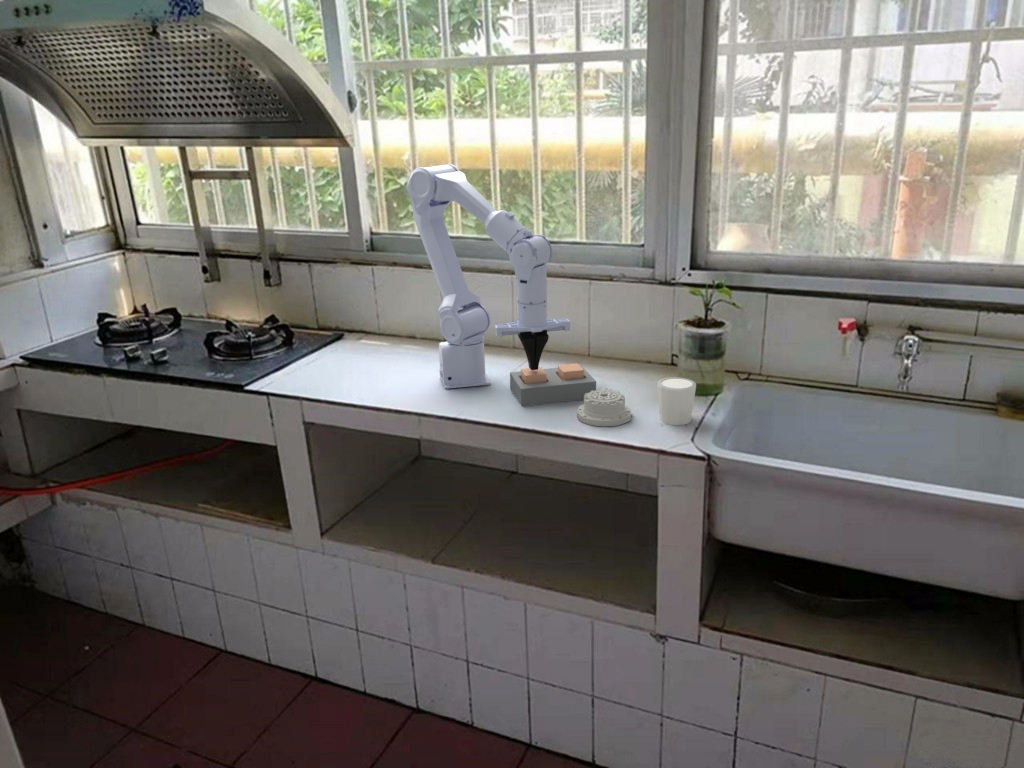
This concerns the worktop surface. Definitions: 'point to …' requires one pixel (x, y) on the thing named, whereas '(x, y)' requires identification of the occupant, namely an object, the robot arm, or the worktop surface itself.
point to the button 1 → (533, 375)
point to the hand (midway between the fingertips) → (533, 368)
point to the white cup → (676, 400)
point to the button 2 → (570, 371)
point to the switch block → (551, 388)
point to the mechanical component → (604, 408)
